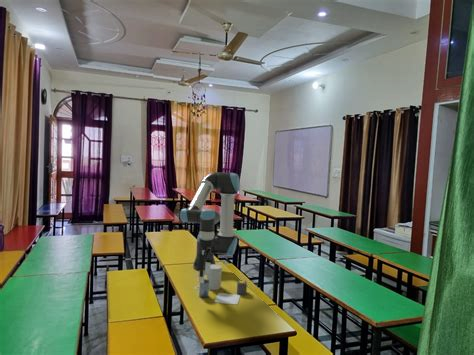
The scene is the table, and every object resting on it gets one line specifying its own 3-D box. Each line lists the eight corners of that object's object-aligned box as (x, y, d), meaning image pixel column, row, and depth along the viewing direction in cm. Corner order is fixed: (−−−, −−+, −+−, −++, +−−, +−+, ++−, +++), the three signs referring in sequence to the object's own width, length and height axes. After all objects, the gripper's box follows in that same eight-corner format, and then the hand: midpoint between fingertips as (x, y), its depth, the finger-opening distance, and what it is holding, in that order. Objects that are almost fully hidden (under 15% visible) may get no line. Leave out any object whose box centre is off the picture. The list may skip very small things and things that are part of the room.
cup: (218, 290, 190) (219, 269, 189) (204, 288, 191) (205, 268, 191) (222, 285, 198) (223, 265, 197) (208, 283, 199) (209, 263, 199)
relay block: (236, 291, 191) (237, 280, 190) (245, 291, 191) (246, 280, 191) (237, 294, 186) (237, 283, 185) (246, 295, 186) (246, 283, 186)
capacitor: (200, 293, 184) (201, 278, 184) (209, 294, 183) (210, 279, 183) (198, 297, 179) (198, 282, 179) (207, 298, 178) (208, 283, 178)
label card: (195, 286, 194) (195, 286, 194) (204, 287, 193) (204, 287, 193) (194, 288, 191) (194, 288, 191) (203, 289, 190) (203, 289, 190)
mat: (218, 293, 186) (218, 292, 186) (240, 295, 184) (240, 295, 184) (214, 302, 174) (214, 301, 174) (237, 304, 172) (237, 304, 172)
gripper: (205, 233, 192) (203, 270, 193) (193, 243, 168) (191, 285, 168) (218, 234, 191) (216, 271, 192) (208, 244, 167) (205, 287, 167)
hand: (204, 278), depth 180 cm, fingers open, 13 cm apart
